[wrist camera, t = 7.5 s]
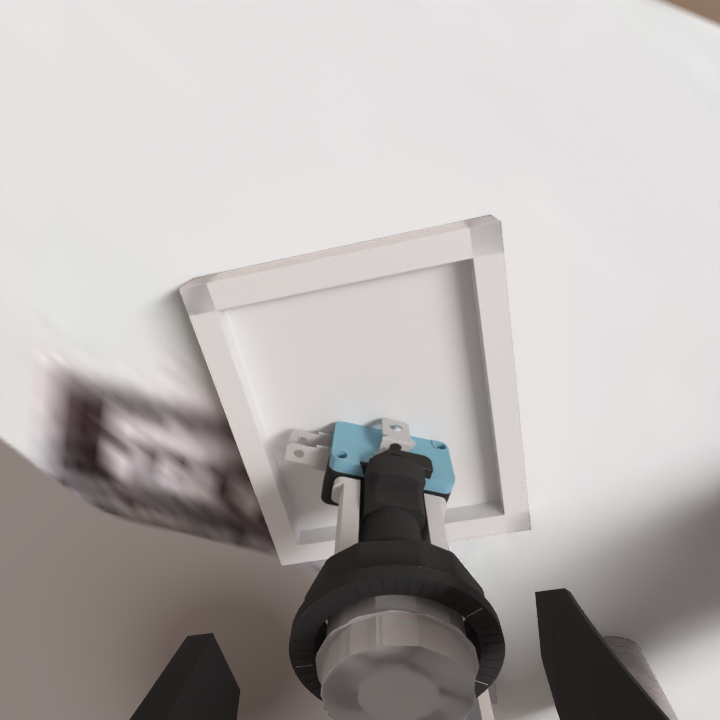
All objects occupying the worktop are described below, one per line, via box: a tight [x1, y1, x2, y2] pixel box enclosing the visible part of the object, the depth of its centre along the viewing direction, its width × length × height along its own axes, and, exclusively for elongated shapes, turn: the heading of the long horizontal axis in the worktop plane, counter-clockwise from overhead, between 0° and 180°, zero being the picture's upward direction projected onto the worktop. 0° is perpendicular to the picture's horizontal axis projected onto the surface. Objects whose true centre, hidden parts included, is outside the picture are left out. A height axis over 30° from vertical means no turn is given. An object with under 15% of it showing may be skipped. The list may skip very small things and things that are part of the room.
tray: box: [179, 215, 531, 565], centre depth 20 cm, size 11×13×2 cm
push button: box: [285, 418, 505, 720], centre depth 16 cm, size 7×5×10 cm
